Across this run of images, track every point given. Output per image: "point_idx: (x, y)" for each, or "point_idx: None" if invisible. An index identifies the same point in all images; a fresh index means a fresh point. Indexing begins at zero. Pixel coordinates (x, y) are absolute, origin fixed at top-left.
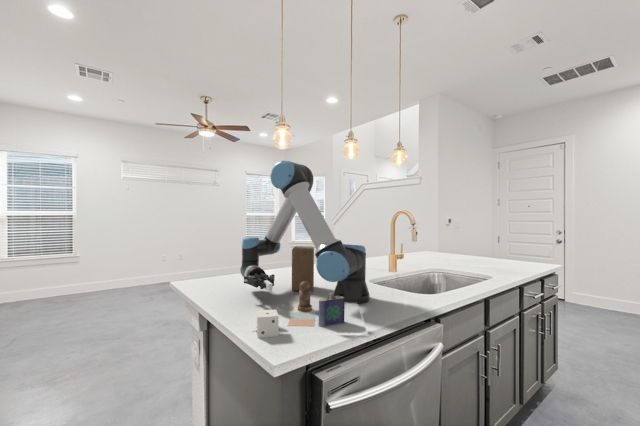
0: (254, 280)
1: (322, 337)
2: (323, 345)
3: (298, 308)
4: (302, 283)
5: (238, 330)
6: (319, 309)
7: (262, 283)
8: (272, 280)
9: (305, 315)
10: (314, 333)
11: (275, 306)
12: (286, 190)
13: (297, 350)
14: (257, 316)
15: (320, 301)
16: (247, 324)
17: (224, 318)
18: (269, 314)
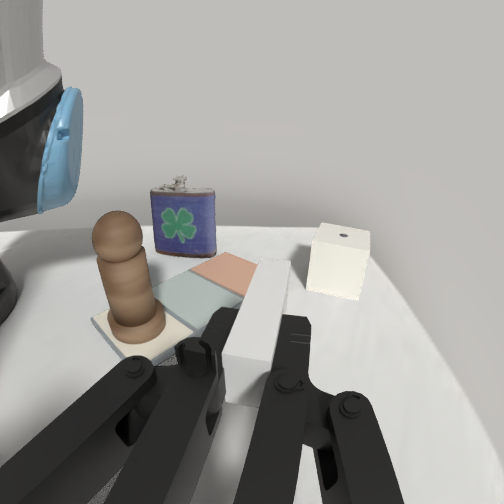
0: (378, 426)
1: (241, 238)
2: (260, 228)
3: (162, 320)
4: (132, 217)
5: (404, 315)
6: (214, 211)
7: (305, 339)
8: (150, 364)
9: (184, 293)
10: (241, 248)
11: None
12: None
13: (305, 233)
14: (369, 235)
15: (214, 191)
16: (380, 338)
17: (457, 411)
18: (339, 231)
